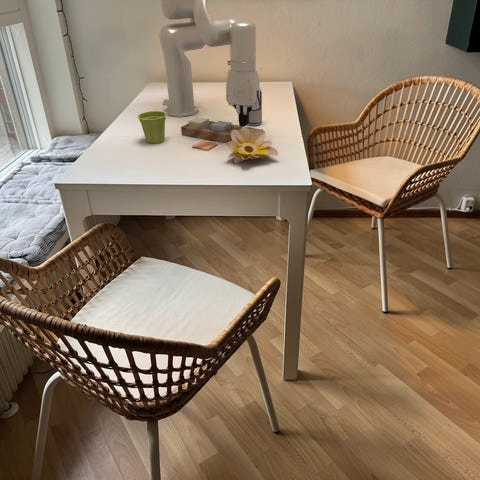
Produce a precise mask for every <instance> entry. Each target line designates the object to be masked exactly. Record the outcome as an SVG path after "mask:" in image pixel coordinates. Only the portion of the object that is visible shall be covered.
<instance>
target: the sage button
mask: <svg viewBox="0 0 480 480" xmlns="http://www.w3.org/2000/svg"><path fill="white" fill-rule="evenodd" d="M209 121H210V119H209V118H204V117H198V116H196V117H195V118H192V119H191V120H188V123H189V126H192V127H198V128H203V127H205V126H207V125H209Z"/></svg>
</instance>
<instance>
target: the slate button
mask: <svg viewBox="0 0 480 480" xmlns="http://www.w3.org/2000/svg"><path fill="white" fill-rule="evenodd" d="M214 122H215V123H213V124H212V125H211V130H215V131H221V132H225V131H227V130H229V129H231V128H232V125H233V123H232V122H229V121H223V120H218V121H214Z"/></svg>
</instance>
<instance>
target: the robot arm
mask: <svg viewBox="0 0 480 480" xmlns="http://www.w3.org/2000/svg"><path fill="white" fill-rule="evenodd" d="M207 2H209V0H160V4H161V11H162V15H163V16H164V18H166V19H167V20H174V21H175V20H176V21H177V20H186V19H187V20H188V19H189V21H187V22H178V23H175V22H174V23H168V24H167V25H164V26H163V27H161V29H160V30H159V34H158V35H159V36H158V38H159V42H160V46H161V50H162V55H163V59H164V68H165V78H166V85H167V95H168V98H164V99H163V101H162V103H161V104H162V106H166V107H167V108H166V109H165V113H167V116H169V117H175V118H177V117H178V118H185V117H191V116H195V115H196V114H198V113H199V111H200V110H199V109H200V108H199V107H198V106H196V105H195V97H194V86H193V85H194V83H193V72H192V71H193V70H192V64H191V63H192V62H191V61H190V60H189V58H188V57H187V56H186V53H185V52H189V51H195V50H201V49H202V48H204V47H205V46H208V47H209V48H214V47H216V48H217V47H221V46H222V47H223V46H229V51H230V52H229V53H230V54H229V55H230V60H227V63H226V64H227V66H229V67H230V69H229V70H228V71H227V77H226V87H225V99H226V100H225V101H226V102H227V104H228V105H229V106H230V107H232V108H234V109H235V110H236V114H237V115H238V116H237V117H238V126H242V127H247V126H249V125H248V123H249V113H250V112H251V111H252V110H256V109H258V108H259V101H260V89H261V86H260V79H259V73H258V71H257V70H256V68H257V67H256V61H257V59H256V57H257V56H256V55H257V54H256V50H257V49H256V48H257V47H256V46H257V44H256V43H257V41H256V39H257V38H256V37H257V36H256V32H257V31H256V24H255V23H254V22H253V21H251V20H244V19H242V18H240V17H238V16H236V17H235V16H232V17H220V18H214V19H213V18H211V16H210V14H209V12H208V8H207Z"/></svg>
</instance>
